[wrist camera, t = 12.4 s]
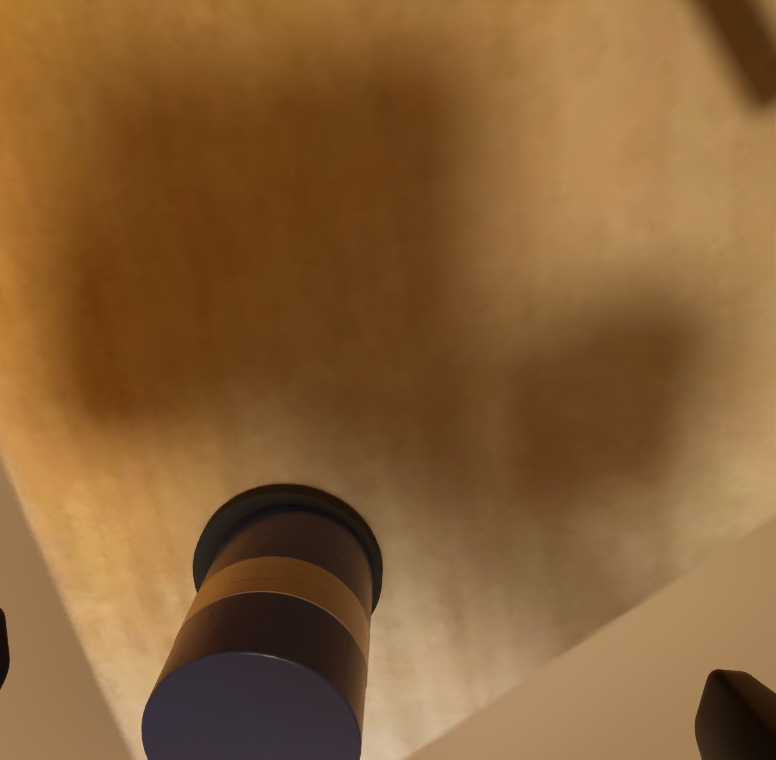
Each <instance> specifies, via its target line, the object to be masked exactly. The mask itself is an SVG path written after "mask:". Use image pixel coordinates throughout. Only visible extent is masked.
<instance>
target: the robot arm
mask: <svg viewBox="0 0 776 760" xmlns="http://www.w3.org/2000/svg"><path fill="white" fill-rule="evenodd" d="M9 663H10V656H9V646H8V637H7V629H6V618H5V614H4V612H3V610H2V609H1V608H0V689H1V687H2V685H3V683H4V681H5V678H6V676H7V673H8V669H9ZM695 735H696V741H697V744H698V748H699V751H700V755H701V758H702V760H776V693H774V692H773V691H771V690H770V689H769V688H767V687H766V686H765V685H763V684H762V683H760V682H759V681H758V680H757V679H755V678H754V677H752V676H751V675H749V674H748V673H746V672H742V671H731V670H721V669H716V670H714V671H712V672H711V673H710V674H709V676H708V678H707V681H706V684H705V687H704V691H703V694H702V698H701V701H700V705H699V708H698V711H697V715H696V719H695Z"/></svg>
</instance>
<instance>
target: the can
mask: <svg viewBox="0 0 776 760" xmlns="http://www.w3.org/2000/svg"><path fill="white" fill-rule="evenodd" d="M373 580H374V574H373V566H372V562H371V558H370V556H369V553H368V551H367V549H366V547H365V545H364V544H363V542H362V541H361V539H360V538H359V537H358V535H357V534H356V533H355V532H354V531H353V530H352V529H351V528H350V527H349V526H348V525H346V524H345V523H344V522H342V521H341V520H340V519H338V518H336V517H335V516H333V515H331V514H329V513H326V512H324V511H322V510H318V509H315V508H312V507H307V506H301V505H279V506H273V507H268V508H265V509H261V510H259V511H256V512H254V513H252V514H250V515H248V516H246V517H245V518H243V519H242V520H240V521H239V522H238V523H237V524H235V525H234V526H233V527H232V528H231V529H230V531H229V532H228V533H227V534H226V536H225V537H224V539H223V540H222V542H221V544H220V546H219V549H218V551H217V553H216V555H215V557H214V559H213V561H212V564H211V566H210V568H209V570H208V572H207V574H206V577H205V579H204V581H203V583H202V585H201V587H200V589H199V592H198V593H197V595H196V597H195V599H194V601H193V603H192V605H191V607H190V609H189V611H188V614H187V616H186V618H185V620H184V622H183V624H182V626H181V629H180V631H179V633H178V635H177V637H176V639H175V642H174V645H173V648H172V650H171V652H170V654H169V656H168V658H167V661H166V663H165V665H164V667H163V669H162V671H161V674H160V676H159V678H158V680H157V682H156V684H155V687H154V689H153V691H152V693H151V695H150V697H149V699H148V702H147V704H146V706H145V710H144V713H143V717H142V727H141V729H142V742H143V746H144V751H145V753H146V756H147V759H148V760H360V756H361V745H362V732H363V718H364V704H365V691H366V686H367V673H368V659H369V645H370V622H371V608H372V594H373Z"/></svg>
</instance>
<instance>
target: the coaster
mask: <svg viewBox="0 0 776 760" xmlns="http://www.w3.org/2000/svg"><path fill="white" fill-rule="evenodd" d="M279 505H301V506H307V507H312V508H315V509H318V510H322V511H324V512H326V513H329V514H331V515H333V516H335V517H336V518H338V519H340V520H341V521H342V522H344V523H345V524H346V525H348V526H349V527H350V528H351V529H352V530H353V531H354V532H355V533H356V534H357V535H358V537H359V538H360V539H361V541H362V542H363V544H364V545H365V547H366V549H367V551H368V553H369V556H370V558H371V562H372V566H373V574H374V580H373V594H372V608H371V615H372V613H373V612H374V610H375V608H376V605H377V603H378V600H379V597H380V593H381V587H382V572H383V569H382V558H381V554H380V550H379V547H378V544H377V542H376V539H375V537H374V535H373V534H372V532H371V530H370V528H369V527H368V526H367V525H366V523H365V522H364V521H363V519H362V518H361V517H360V516H359V515H358V514H357V513H356V512H355V511H354V510H352V509H351V508H350V507H349V506H347V505H346V504H345V503H343V502H341V501H340V500H338V499H336V498H335V497H333V496H331V495H328V494H326V493H324V492H321V491H318V490H315V489H312V488H307V487H302V486H294V485H273V486H267V487H261V488H258V489H255V490H251V491H248V492H246V493H244V494H241V495H239V496H237V497H236V498H234V499H232V500H231V501H229V502H228V503H226V504H225V505H224V506H223V507H222V508H220V509H219V510H218V511H217V512H216V514H215V515H214V516H213V517H212V518H211V520H210V521H209V523H208V524H207V526H206V527H205V529H204V531H203V533H202V535H201V537H200V539H199V541H198V543H197V546H196V550H195V553H194V560H193V578H194V583H195V588H196V591H197V593H198V592H199V589H200V587H201V585H202V583H203V581H204V579H205V577H206V574H207V572H208V570H209V568H210V566H211V564H212V561H213V559H214V557H215V555H216V553H217V551H218V549H219V546H220V544H221V542H222V540H223V539H224V537H225V536H226V534H227V533H228V532H229V531H230V529H231V528H232V527H233V526H234V525H235V524H237V523H238V522H239V521H240V520H242V519H243V518H245V517H246V516H248V515H250V514H252V513H254V512H256V511H259V510H261V509H265V508H268V507H273V506H279Z"/></svg>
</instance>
